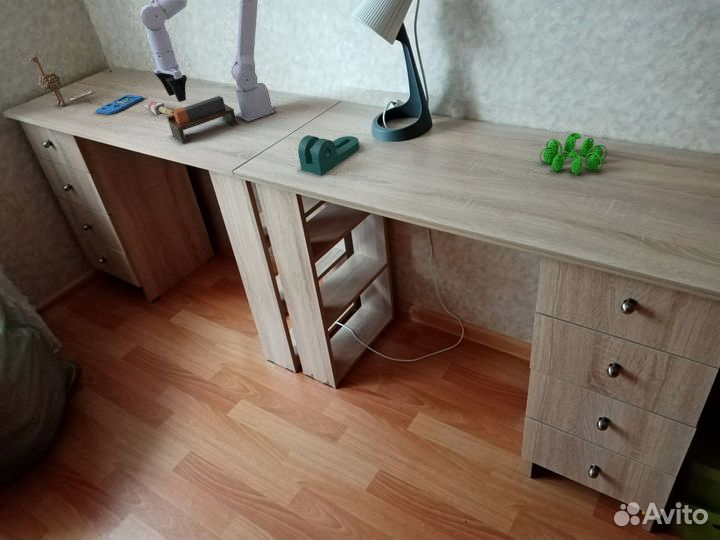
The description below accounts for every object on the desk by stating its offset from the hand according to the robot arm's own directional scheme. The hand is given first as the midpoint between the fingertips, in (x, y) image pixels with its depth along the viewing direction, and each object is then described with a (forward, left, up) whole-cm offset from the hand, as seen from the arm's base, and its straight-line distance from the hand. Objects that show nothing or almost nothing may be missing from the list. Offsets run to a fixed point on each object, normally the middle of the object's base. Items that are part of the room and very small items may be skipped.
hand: (177, 97), depth 165 cm
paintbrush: (0, -22, -11) cm, 24 cm away
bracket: (-20, +51, -11) cm, 56 cm away
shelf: (-4, +5, -10) cm, 12 cm away
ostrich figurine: (+19, -64, -11) cm, 68 cm away
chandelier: (-57, +97, -11) cm, 113 cm away
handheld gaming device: (+8, -42, -10) cm, 44 cm away
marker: (-4, +5, -5) cm, 8 cm away
